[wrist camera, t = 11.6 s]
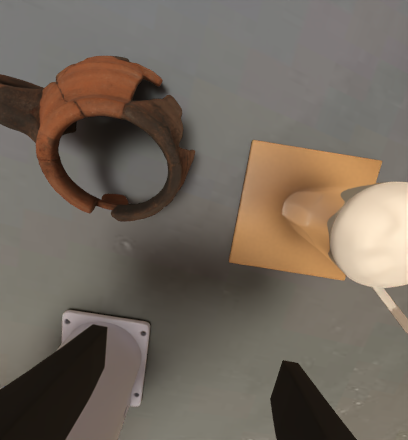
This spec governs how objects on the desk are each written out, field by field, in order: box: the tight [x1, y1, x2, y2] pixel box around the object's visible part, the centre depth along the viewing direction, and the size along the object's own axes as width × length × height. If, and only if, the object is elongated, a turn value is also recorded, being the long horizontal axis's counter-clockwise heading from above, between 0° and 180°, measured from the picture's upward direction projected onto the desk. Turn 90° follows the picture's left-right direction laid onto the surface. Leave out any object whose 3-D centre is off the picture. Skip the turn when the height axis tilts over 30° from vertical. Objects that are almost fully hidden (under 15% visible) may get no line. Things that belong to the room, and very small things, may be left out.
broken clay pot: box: [0, 56, 195, 221], centre depth 14 cm, size 12×10×8 cm
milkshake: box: [282, 182, 408, 334], centre depth 12 cm, size 5×5×10 cm
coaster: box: [229, 140, 382, 280], centre depth 17 cm, size 10×10×1 cm
